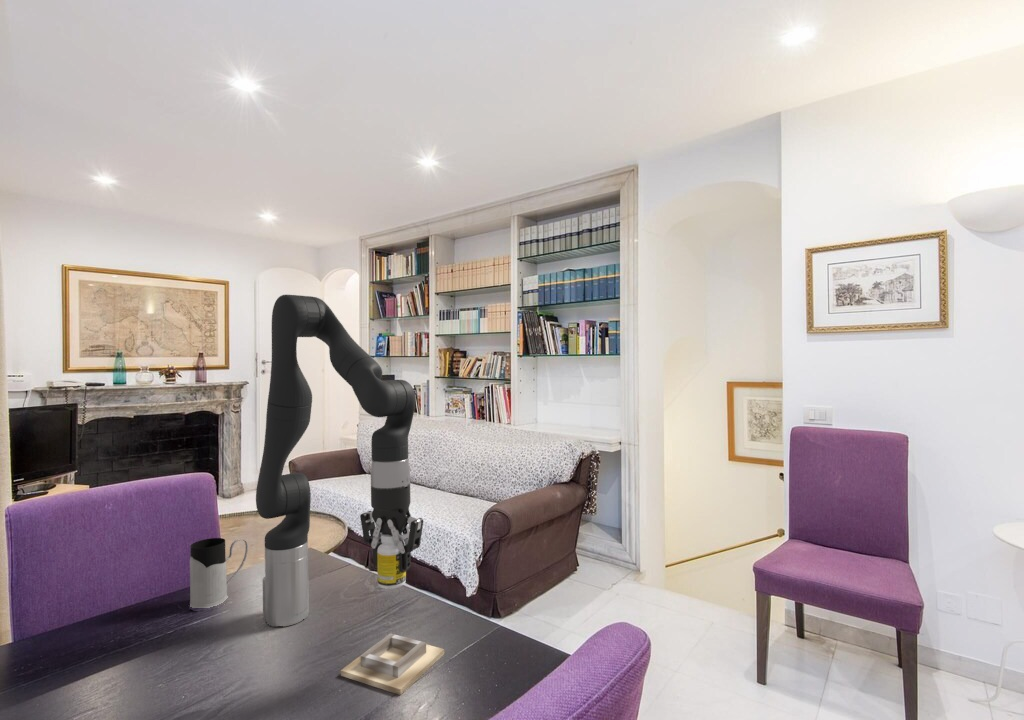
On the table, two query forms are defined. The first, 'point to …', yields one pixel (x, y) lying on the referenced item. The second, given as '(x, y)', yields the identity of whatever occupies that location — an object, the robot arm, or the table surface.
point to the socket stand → (393, 663)
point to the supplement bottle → (389, 564)
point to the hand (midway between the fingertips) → (392, 568)
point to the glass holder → (210, 572)
